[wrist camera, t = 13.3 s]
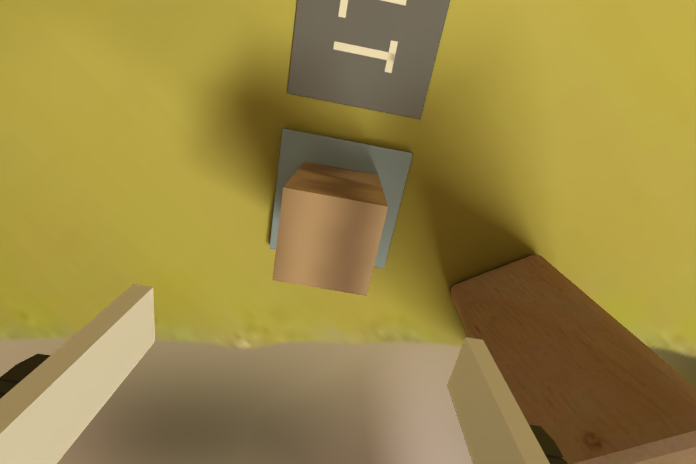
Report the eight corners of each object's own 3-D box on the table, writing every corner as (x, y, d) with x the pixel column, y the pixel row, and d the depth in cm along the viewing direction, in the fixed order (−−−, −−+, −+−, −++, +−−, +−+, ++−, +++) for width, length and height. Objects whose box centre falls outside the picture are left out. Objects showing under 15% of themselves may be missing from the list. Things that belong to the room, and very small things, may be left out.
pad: (270, 246, 35) (269, 248, 35) (283, 128, 31) (282, 128, 30) (383, 265, 36) (383, 268, 35) (411, 152, 32) (412, 153, 31)
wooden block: (445, 284, 37) (538, 475, 18) (537, 248, 35) (746, 419, 16) (474, 351, 40) (578, 573, 21) (560, 321, 38) (755, 534, 20)
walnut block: (295, 230, 34) (272, 279, 25) (304, 161, 31) (283, 187, 22) (363, 242, 34) (366, 295, 25) (378, 174, 32) (387, 206, 22)
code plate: (287, 93, 30) (287, 93, 30) (306, -77, 26) (305, -78, 25) (420, 119, 30) (420, 119, 30) (460, -43, 26) (461, -43, 26)
